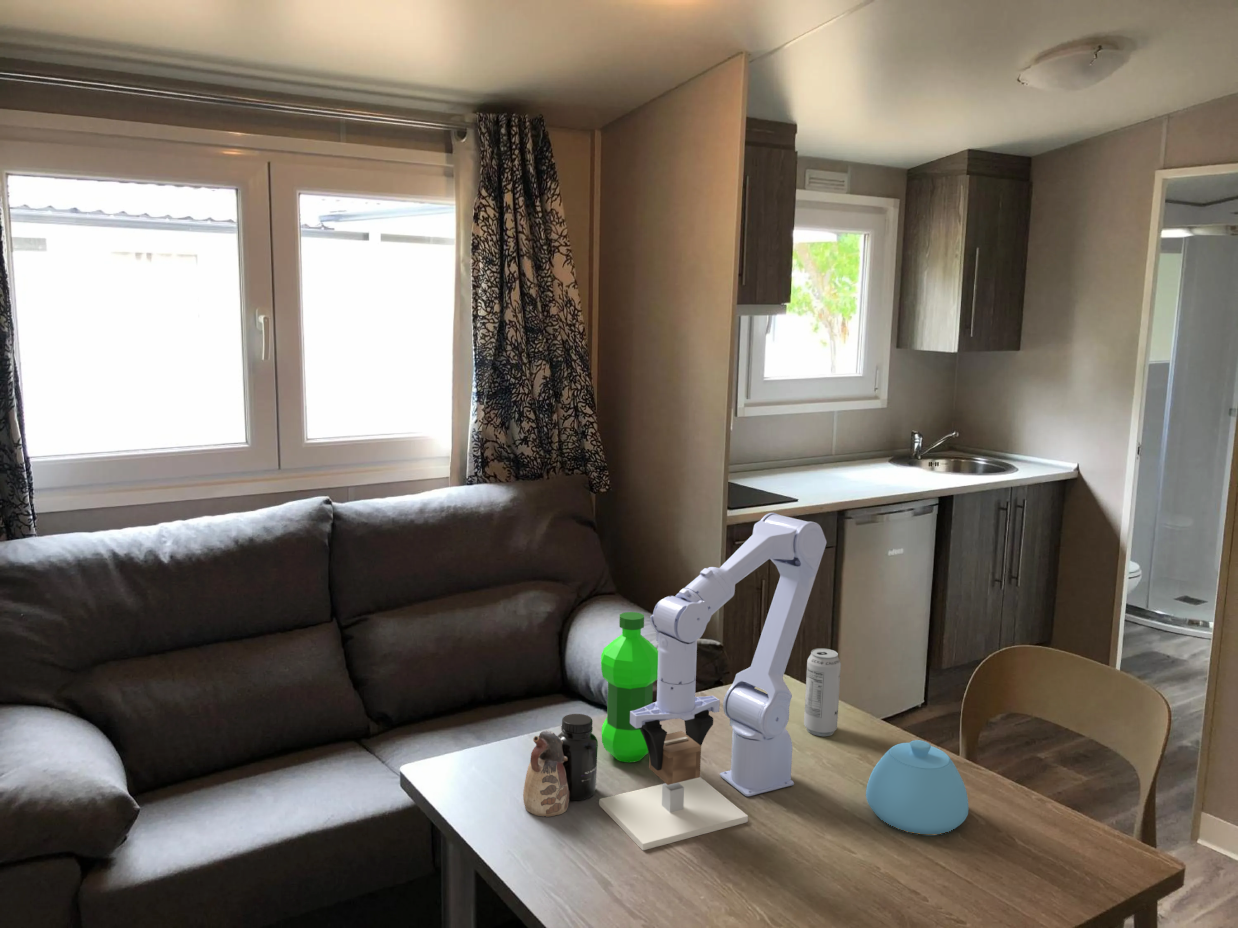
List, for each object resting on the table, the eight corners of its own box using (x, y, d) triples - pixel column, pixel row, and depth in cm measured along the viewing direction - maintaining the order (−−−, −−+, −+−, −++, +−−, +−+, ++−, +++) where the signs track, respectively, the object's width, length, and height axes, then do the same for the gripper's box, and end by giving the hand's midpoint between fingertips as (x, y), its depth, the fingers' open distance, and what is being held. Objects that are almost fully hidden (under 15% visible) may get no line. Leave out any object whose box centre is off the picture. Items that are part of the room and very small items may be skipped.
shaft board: (698, 781, 153) (698, 755, 152) (747, 821, 141) (748, 793, 140) (599, 804, 145) (599, 777, 144) (642, 850, 132) (643, 820, 132)
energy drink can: (842, 736, 171) (847, 657, 169) (811, 738, 170) (816, 659, 167) (828, 722, 177) (832, 646, 175) (798, 724, 176) (802, 648, 173)
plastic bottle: (655, 741, 167) (659, 606, 163) (659, 769, 157) (664, 625, 153) (599, 741, 167) (601, 606, 163) (599, 769, 156) (602, 625, 153)
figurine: (579, 805, 144) (580, 732, 142) (543, 822, 139) (543, 746, 138) (550, 788, 149) (550, 717, 147) (514, 803, 145) (514, 730, 143)
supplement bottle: (595, 802, 145) (597, 728, 144) (551, 800, 145) (553, 727, 144) (596, 781, 152) (599, 711, 151) (554, 780, 152) (556, 709, 151)
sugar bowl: (983, 814, 145) (989, 743, 143) (941, 852, 134) (947, 776, 132) (893, 780, 155) (897, 714, 153) (847, 813, 144) (851, 742, 142)
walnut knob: (680, 761, 145) (681, 728, 144) (699, 776, 140) (701, 743, 140) (649, 768, 143) (650, 735, 142) (667, 784, 138) (668, 750, 137)
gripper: (647, 694, 133) (644, 784, 135) (732, 678, 139) (728, 764, 141) (624, 677, 139) (622, 763, 141) (706, 663, 146) (703, 745, 148)
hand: (673, 763), depth 142 cm, fingers closed on walnut knob, 6 cm apart
